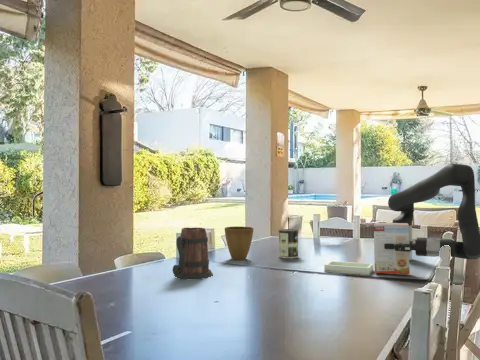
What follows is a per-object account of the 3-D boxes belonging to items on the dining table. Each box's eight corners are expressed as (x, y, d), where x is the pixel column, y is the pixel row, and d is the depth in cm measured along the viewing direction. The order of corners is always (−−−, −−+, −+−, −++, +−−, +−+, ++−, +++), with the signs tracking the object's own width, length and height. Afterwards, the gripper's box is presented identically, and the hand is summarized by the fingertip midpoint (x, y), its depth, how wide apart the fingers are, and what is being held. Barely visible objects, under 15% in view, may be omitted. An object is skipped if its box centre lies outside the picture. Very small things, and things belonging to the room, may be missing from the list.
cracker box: (409, 272, 196) (408, 222, 196) (409, 275, 190) (409, 224, 190) (375, 270, 200) (374, 222, 200) (374, 273, 194) (373, 223, 194)
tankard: (186, 270, 207) (186, 225, 207) (220, 273, 200) (220, 227, 200) (156, 280, 186) (156, 231, 186) (193, 284, 179) (193, 232, 179)
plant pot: (219, 260, 232) (219, 228, 232) (231, 256, 246) (231, 226, 246) (247, 262, 227) (247, 229, 227) (257, 257, 240) (257, 226, 240)
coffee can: (299, 255, 246) (299, 229, 246) (297, 258, 236) (297, 231, 236) (279, 255, 248) (279, 228, 248) (277, 258, 238) (277, 230, 238)
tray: (330, 267, 211) (330, 260, 211) (373, 270, 203) (373, 263, 203) (324, 271, 202) (324, 264, 202) (369, 275, 193) (369, 268, 193)
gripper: (429, 235, 195) (387, 234, 202) (427, 240, 182) (382, 238, 189) (429, 253, 195) (388, 251, 203) (427, 259, 182) (383, 256, 189)
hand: (385, 245), depth 196 cm, fingers closed on cracker box, 6 cm apart
